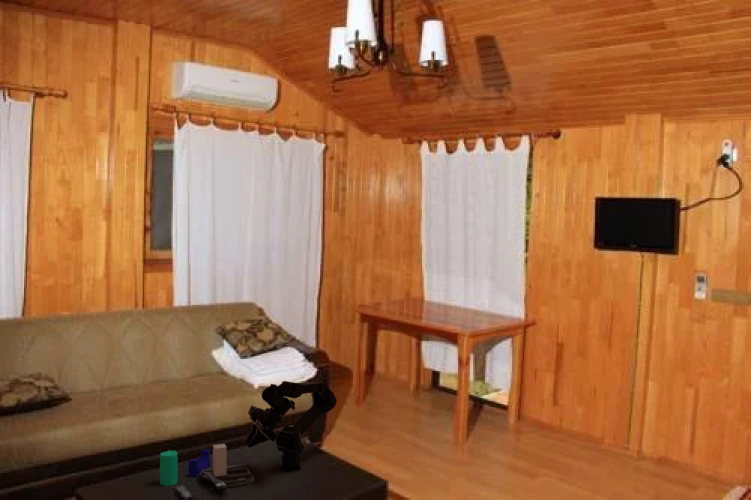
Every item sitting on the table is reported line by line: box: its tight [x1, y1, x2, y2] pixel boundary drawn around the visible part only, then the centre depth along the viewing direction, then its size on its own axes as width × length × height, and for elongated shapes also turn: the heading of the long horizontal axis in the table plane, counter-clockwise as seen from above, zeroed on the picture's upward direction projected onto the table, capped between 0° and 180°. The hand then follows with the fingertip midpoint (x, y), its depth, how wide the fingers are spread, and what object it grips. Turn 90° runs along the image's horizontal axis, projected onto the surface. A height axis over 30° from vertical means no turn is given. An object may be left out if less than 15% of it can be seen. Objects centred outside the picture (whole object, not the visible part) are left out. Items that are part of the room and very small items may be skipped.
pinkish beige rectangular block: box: [211, 443, 228, 478], centre depth 240 cm, size 5×4×11 cm
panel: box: [210, 467, 255, 487], centre depth 241 cm, size 14×12×2 cm
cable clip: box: [188, 449, 211, 478], centre depth 249 cm, size 12×4×6 cm, turn 170°
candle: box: [159, 450, 179, 487], centre depth 237 cm, size 6×6×12 cm
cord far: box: [202, 463, 249, 473], centre depth 249 cm, size 17×3×1 cm, turn 114°
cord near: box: [228, 482, 249, 488], centre depth 235 cm, size 7×1×1 cm, turn 114°
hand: (246, 445), depth 243 cm, fingers open, 4 cm apart
